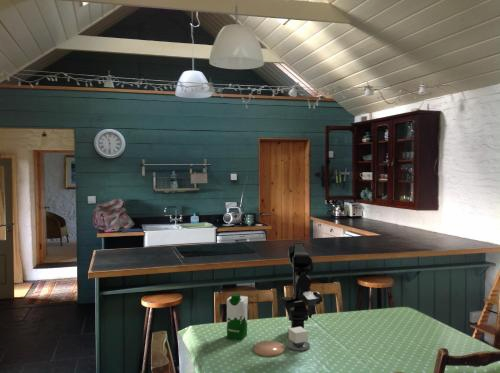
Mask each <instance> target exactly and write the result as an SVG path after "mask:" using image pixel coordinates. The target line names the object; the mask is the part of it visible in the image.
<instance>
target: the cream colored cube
mask: <svg viewBox="0 0 500 373" xmlns="http://www.w3.org/2000/svg"><path fill="white" fill-rule="evenodd" d="M288 330H289V331H288V339H289V341H290V340H292V341H293V342H294V343H301V342H308V341H309V331H308V330H307V329H305V327H304V328H302V327H295V328H291V327H289V328H288Z"/></svg>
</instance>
